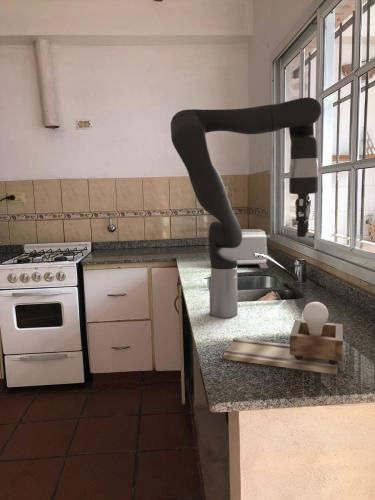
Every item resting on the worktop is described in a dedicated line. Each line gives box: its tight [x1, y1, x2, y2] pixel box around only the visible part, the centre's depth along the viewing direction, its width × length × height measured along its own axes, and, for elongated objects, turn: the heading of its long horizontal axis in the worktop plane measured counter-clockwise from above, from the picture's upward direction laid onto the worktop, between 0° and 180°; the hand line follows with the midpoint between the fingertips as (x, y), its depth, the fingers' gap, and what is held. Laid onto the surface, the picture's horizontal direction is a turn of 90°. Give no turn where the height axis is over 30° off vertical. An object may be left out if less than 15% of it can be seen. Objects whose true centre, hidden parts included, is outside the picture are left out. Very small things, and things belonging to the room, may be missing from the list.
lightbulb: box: [302, 301, 329, 336], centre depth 98 cm, size 6×6×11 cm
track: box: [223, 337, 339, 376], centre depth 102 cm, size 28×12×2 cm, turn 69°
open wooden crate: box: [289, 319, 344, 364], centre depth 98 cm, size 12×12×7 cm
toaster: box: [222, 228, 271, 269], centre depth 226 cm, size 19×34×20 cm, turn 90°
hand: (302, 234), depth 109 cm, fingers open, 8 cm apart
